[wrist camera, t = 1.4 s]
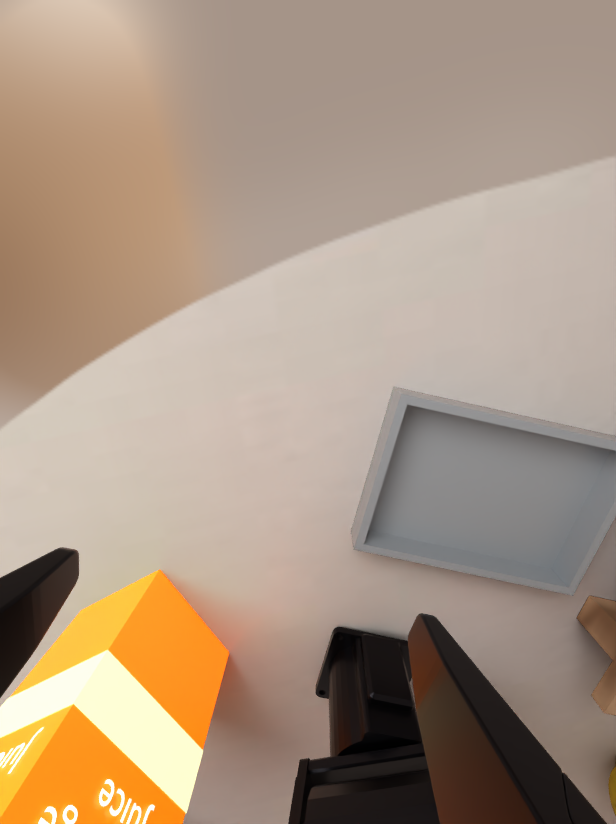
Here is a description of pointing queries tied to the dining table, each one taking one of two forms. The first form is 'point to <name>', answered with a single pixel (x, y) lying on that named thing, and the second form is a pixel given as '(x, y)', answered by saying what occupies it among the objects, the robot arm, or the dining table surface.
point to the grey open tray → (487, 492)
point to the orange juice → (113, 714)
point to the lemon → (613, 788)
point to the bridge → (603, 646)
